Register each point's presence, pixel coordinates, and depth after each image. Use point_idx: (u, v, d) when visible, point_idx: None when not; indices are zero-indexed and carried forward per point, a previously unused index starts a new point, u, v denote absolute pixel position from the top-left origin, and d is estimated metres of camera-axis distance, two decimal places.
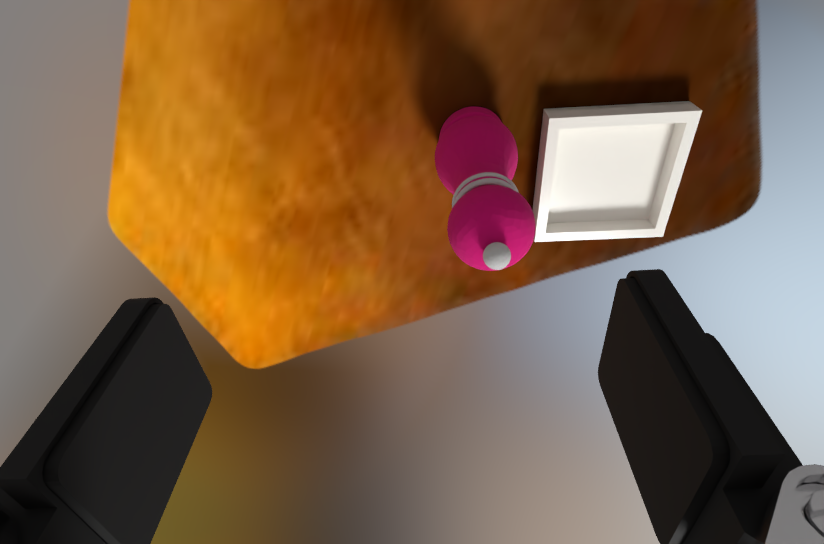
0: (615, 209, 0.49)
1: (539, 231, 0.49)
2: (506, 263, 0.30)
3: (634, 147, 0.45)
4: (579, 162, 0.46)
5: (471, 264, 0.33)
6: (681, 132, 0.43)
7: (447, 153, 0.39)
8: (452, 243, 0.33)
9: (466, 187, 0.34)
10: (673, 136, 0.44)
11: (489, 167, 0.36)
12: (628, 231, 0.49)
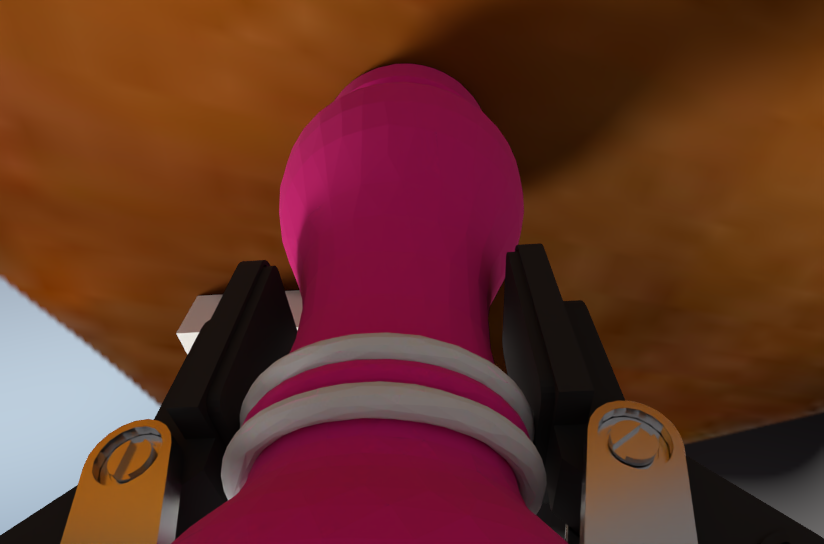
0: None
1: None
2: None
3: None
4: None
5: None
6: None
7: (457, 158, 0.11)
8: None
9: (512, 436, 0.06)
10: None
11: None
12: None
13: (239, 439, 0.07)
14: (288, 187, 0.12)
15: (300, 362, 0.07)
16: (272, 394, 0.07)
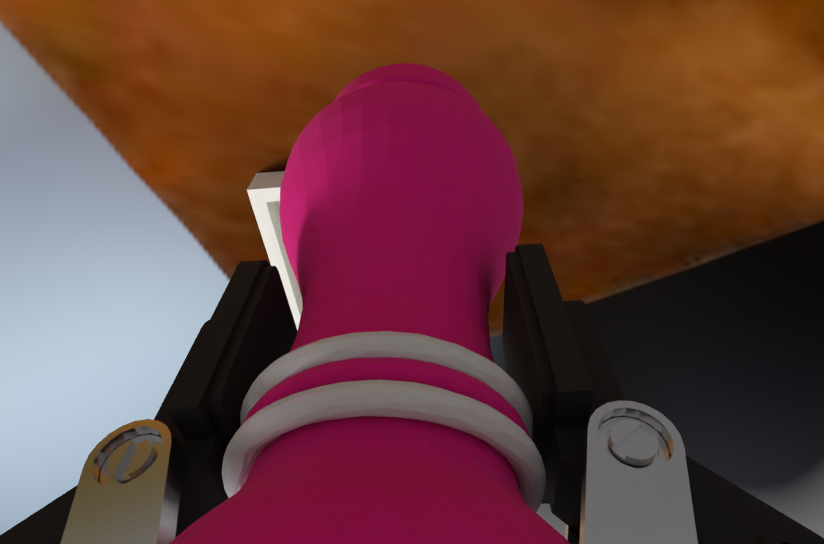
0: None
1: (266, 193, 0.32)
2: None
3: None
4: None
5: None
6: None
7: (457, 158, 0.11)
8: None
9: (512, 434, 0.06)
10: None
11: None
12: (292, 297, 0.37)
13: (240, 437, 0.07)
14: (288, 187, 0.12)
15: (300, 360, 0.07)
16: (273, 392, 0.07)
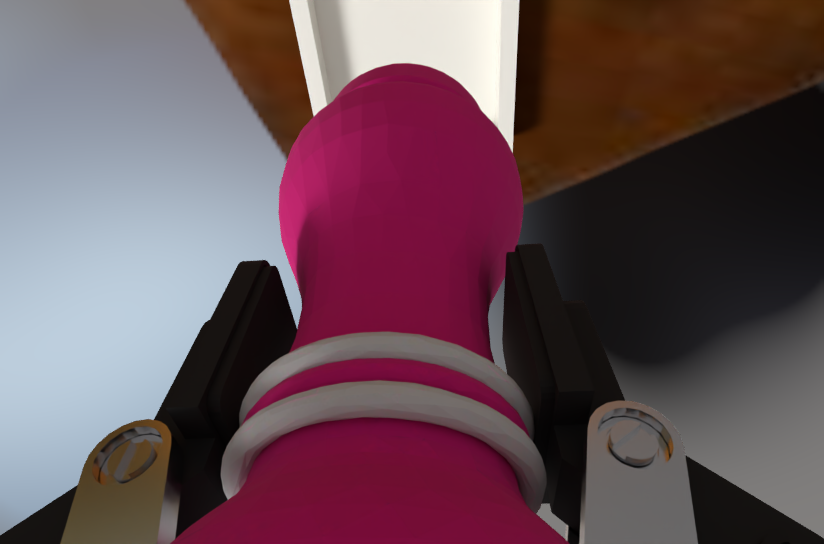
0: None
1: None
2: None
3: None
4: (426, 4, 0.29)
5: None
6: None
7: (456, 158, 0.11)
8: None
9: (513, 435, 0.06)
10: None
11: None
12: None
13: (239, 438, 0.07)
14: (287, 187, 0.12)
15: (300, 361, 0.07)
16: (272, 393, 0.07)
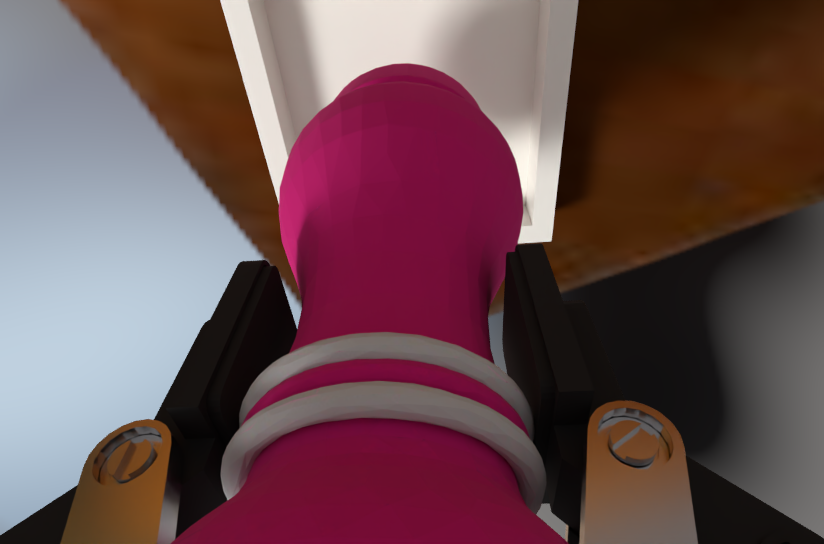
0: None
1: None
2: None
3: None
4: (435, 42, 0.20)
5: None
6: None
7: (456, 158, 0.11)
8: None
9: (512, 436, 0.06)
10: None
11: None
12: None
13: (239, 439, 0.07)
14: (287, 187, 0.12)
15: (300, 362, 0.07)
16: (272, 394, 0.07)
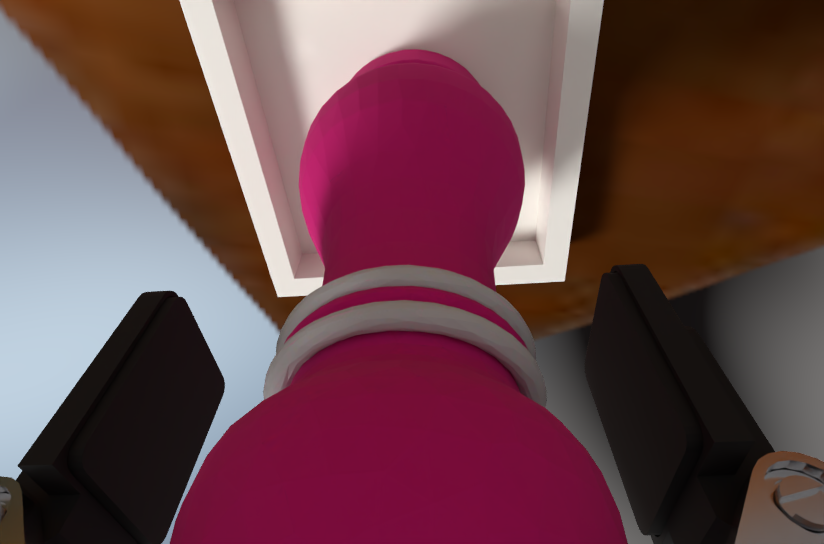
0: None
1: None
2: None
3: None
4: None
5: None
6: (517, 260, 0.21)
7: (465, 130, 0.12)
8: None
9: (517, 349, 0.08)
10: None
11: None
12: (274, 229, 0.20)
13: (282, 354, 0.08)
14: (309, 158, 0.13)
15: (334, 290, 0.08)
16: (310, 317, 0.08)
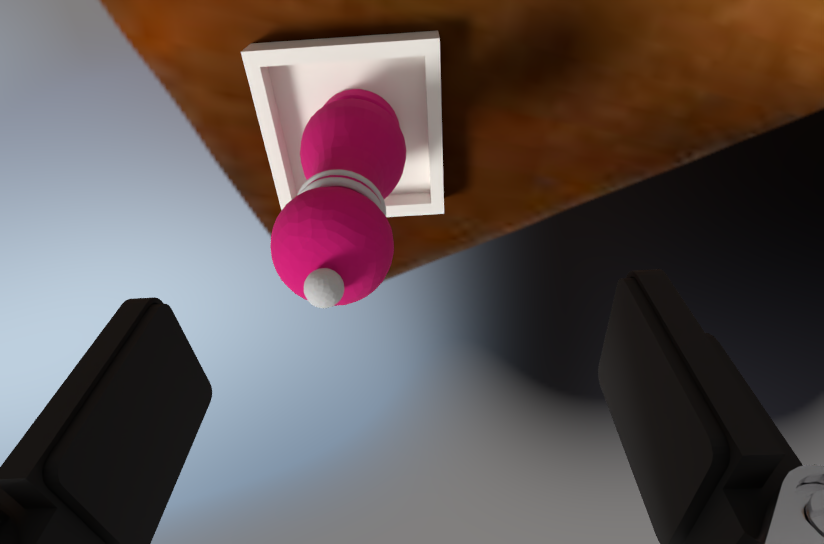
0: None
1: (261, 56, 0.32)
2: (321, 307, 0.21)
3: None
4: None
5: (285, 244, 0.21)
6: (417, 201, 0.39)
7: (370, 128, 0.29)
8: (311, 210, 0.21)
9: (371, 193, 0.25)
10: (407, 195, 0.39)
11: None
12: (284, 181, 0.37)
13: None
14: (305, 140, 0.30)
15: (315, 177, 0.25)
16: (307, 185, 0.25)
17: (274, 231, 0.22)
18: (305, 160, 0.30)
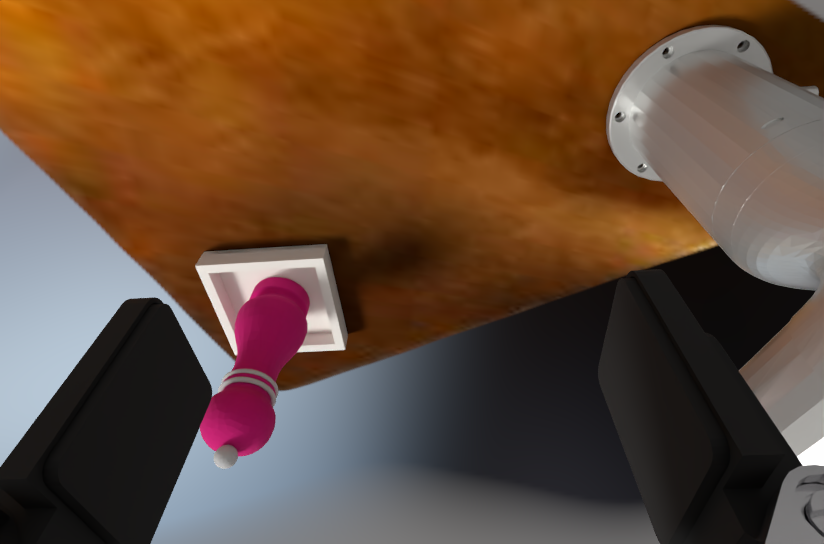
0: None
1: (208, 268, 0.48)
2: (223, 468, 0.38)
3: None
4: None
5: (205, 430, 0.38)
6: (326, 342, 0.55)
7: (275, 323, 0.46)
8: (219, 412, 0.38)
9: (263, 385, 0.41)
10: (320, 335, 0.56)
11: (277, 373, 0.45)
12: (232, 332, 0.54)
13: (220, 385, 0.41)
14: (235, 326, 0.47)
15: (231, 373, 0.42)
16: (226, 378, 0.42)
17: None
18: None
